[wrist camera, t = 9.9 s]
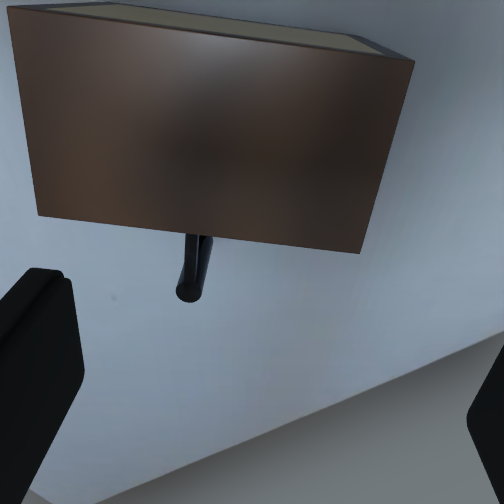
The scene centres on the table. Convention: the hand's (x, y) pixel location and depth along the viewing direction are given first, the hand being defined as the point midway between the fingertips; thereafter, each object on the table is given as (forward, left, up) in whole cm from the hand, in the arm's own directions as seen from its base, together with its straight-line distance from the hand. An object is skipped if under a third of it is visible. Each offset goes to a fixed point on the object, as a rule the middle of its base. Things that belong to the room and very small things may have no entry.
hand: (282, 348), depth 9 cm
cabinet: (+3, 0, -24) cm, 24 cm away
